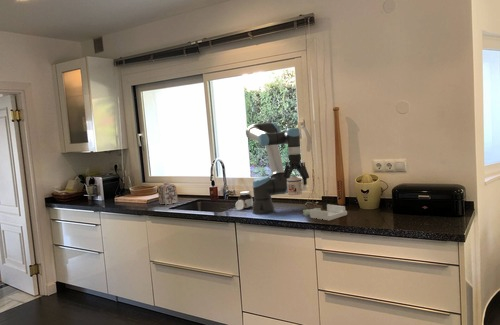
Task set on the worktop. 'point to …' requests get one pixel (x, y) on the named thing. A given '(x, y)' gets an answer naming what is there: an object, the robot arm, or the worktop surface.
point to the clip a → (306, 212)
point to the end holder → (329, 212)
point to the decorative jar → (167, 193)
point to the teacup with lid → (294, 185)
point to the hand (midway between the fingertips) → (296, 189)
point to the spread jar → (244, 201)
